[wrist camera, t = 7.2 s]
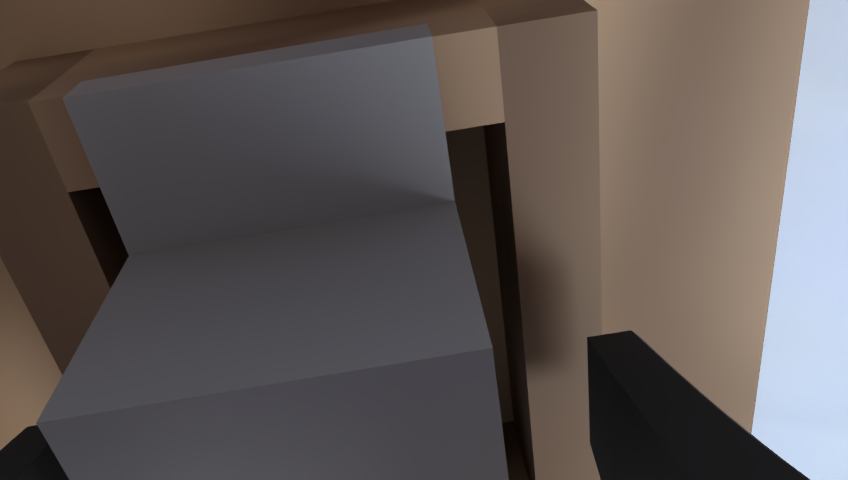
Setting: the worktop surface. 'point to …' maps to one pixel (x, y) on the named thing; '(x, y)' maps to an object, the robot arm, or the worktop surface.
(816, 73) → the worktop surface
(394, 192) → the servo block
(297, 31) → the dock
